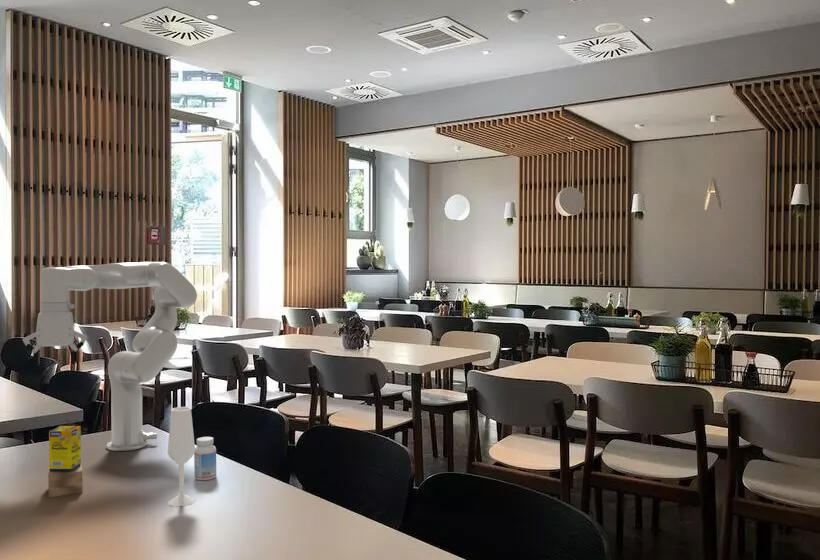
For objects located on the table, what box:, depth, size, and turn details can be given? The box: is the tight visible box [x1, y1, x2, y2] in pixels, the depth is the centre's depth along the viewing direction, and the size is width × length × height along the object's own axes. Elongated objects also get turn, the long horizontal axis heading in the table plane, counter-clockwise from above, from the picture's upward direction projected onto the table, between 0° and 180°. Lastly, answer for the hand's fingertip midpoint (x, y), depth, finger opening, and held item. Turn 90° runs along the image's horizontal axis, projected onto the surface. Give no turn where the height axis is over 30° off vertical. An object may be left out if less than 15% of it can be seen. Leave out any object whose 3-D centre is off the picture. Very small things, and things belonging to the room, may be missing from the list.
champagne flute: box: [167, 406, 196, 507], centre depth 177 cm, size 7×7×24 cm
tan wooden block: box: [47, 464, 83, 498], centre depth 185 cm, size 8×8×6 cm
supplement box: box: [48, 425, 82, 472], centre depth 185 cm, size 6×6×11 cm
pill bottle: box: [193, 436, 217, 481], centre depth 197 cm, size 6×6×11 cm
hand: (55, 364), depth 208 cm, fingers open, 9 cm apart
